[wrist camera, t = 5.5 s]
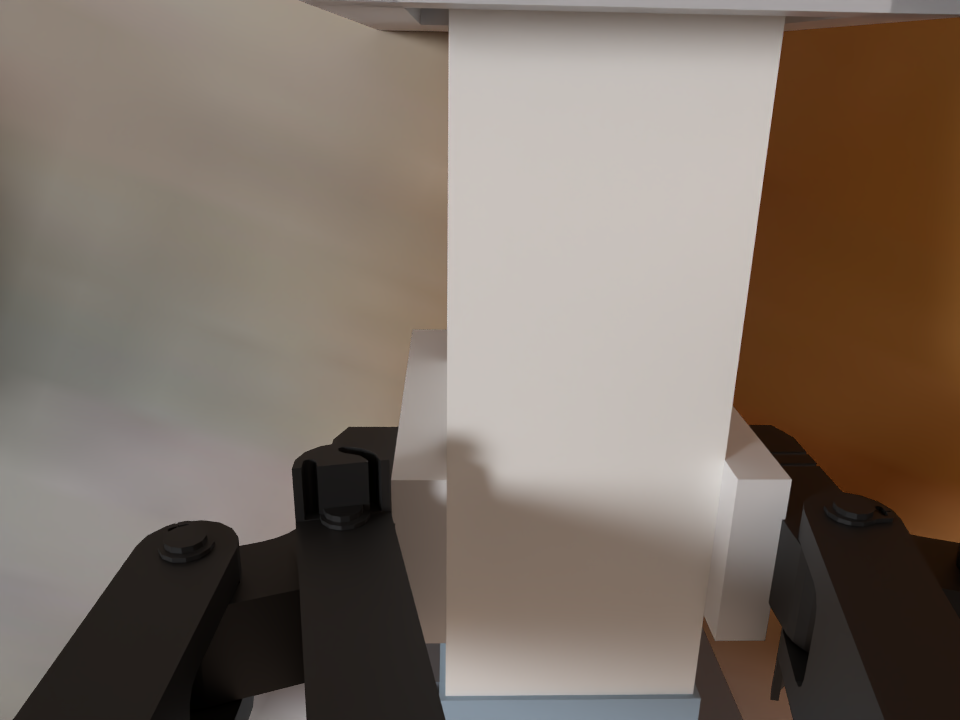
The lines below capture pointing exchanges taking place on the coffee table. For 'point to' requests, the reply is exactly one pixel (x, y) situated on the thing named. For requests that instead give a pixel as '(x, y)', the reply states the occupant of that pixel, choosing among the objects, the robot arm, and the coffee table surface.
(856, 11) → the sleeve
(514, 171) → the tube
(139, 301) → the coffee table surface
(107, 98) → the coffee table surface
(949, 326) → the coffee table surface
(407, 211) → the coffee table surface
